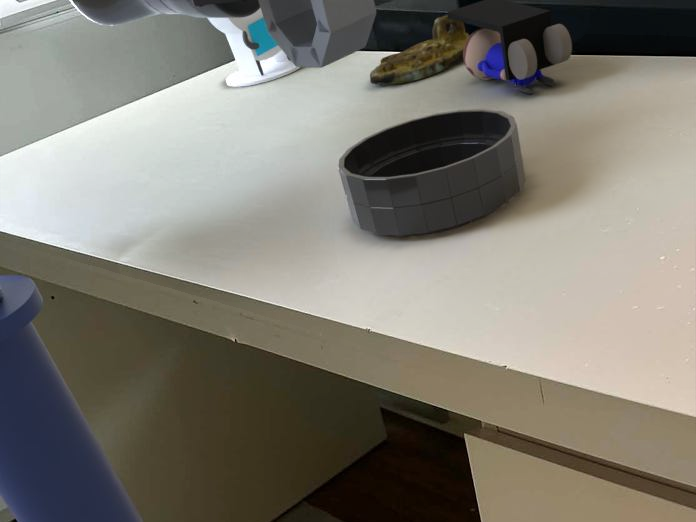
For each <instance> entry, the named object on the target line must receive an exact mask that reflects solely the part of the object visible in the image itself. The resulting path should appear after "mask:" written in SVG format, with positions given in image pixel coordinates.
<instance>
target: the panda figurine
mask: <svg viewBox="0 0 696 522" xmlns="http://www.w3.org/2000/svg"><path fill="white" fill-rule="evenodd" d="M207 20H208V21H209V22H210V24H211V25H212V26H213V27H214V28H215V29H217V30H218V31H220V32H221V33H223V34H224V35H225V37H226V39H227V42H228V44H229V47H230V50H231V52H232V54H233V55H232V56H233V57H234V60H235V62H236V64H237V67H238V70H236V71H234V72H232V73H231V74H229V75H228V76H227V77H226V78H225V82H226V85H227V86H229V87H234V88H235V87H236V88H237V87H240V88H241V87H248V86H249V87H250V86H254V85H258V84H262V83H267V82H270V81H274V80H277V79H280V78H283V77H285V76H287V75H289V74H292V73H294V72H296V71H297V70H299V69H300V68H302V67H296V66H295V65H294V64H293V63H292V61H291V60H290V59H289V58H288V56H287V55H286V54H285V53H284V52H283V50H282V49H281V48H280V47H279V45H278V44H277V43H276V42H275V40H274V39H273V38H272V37H271V35H270V34H269V33H268V30H267V27H266V24H265V21H264V17H263V14H262V11H261V8H260V9H259V10H258V11H256V12H255V13H254V14H252V15H250V16H247V17H242V18H207Z"/></svg>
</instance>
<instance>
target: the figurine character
mask: <svg viewBox="0 0 696 522" xmlns="http://www.w3.org/2000/svg"><path fill="white" fill-rule="evenodd" d="M446 15H448V18H449V19H452V20H456V21H460V22H463V24H467V25H471V26H475V27H479V29H476V30H475V31H473V32H472V33H471V34H469V37H468V39H467V40H466V43H465V45H464V49H463V59H462V60H463V63H464V66H465V68H466V70H467V72H469V74H470V75H472V76H473V77H474V78H476V79H478V80H483V81H490V80H494V79H497V80H501V81H507V82H509V83H512V84H514V89H515V90H517V91H520V92H522V93H525V94H527V95H530V96H531V95H532V94H534V91H533V89H532V88H528V87H527V86H530V85H531V84H532V83H534V81H537V82H539V83H541V84H543V85H546V86H549V87H552V86H554V85H556V84H555V79H554V78H552V77H549V76H546V75H544V74H543V73H542V70H545V69H546V68H549V67H553V66H555V65H558V64H562V63H565V62H567V61H569V60H570V59H571V55H572V51H573V43H572V38H571V35H570V32H569V30H568V29H567V27H566V26H565V25H564V24H562V23H557V24H554V25H553V23H552V11H551V10H549V9H544V8H540V7H535V6H531V5H527V4H524V3H520V2H519V3H518V2H514V1H511V0H481V1H478V2H474V3H471V4H467V5H465V6H462V7H457V8H456V9H452V10H448V11H447V12H446Z"/></svg>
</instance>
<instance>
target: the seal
mask: <svg viewBox="0 0 696 522" xmlns="http://www.w3.org/2000/svg"><path fill="white" fill-rule="evenodd" d="M448 24H449V25H450V26H449V28H448V31H447V25H448ZM469 36H470V34H469V33H468V32H466V27H465V23H463V22H460V21H456V20H452V19H449V18H448V15H447V14H445V15H443V16H438V17H437V18H436V19H435V20H434V23H433V26H432V39H427V40H424V41H422V42H419V43H417V44H415V45H412V46H410V47H408V48H407V49H404V50H401V51H400V52H398V53H393V54H390V55H386V56H383V57H382V58H381V59H380V60H379V62H380V63H379V65H377V66H376V67H375V68H374V69H373V70H371V71H370V74H369V80H370V83H371V84H372V85H378V84H389V83H391V84H394V85H397V84H404V83H405V84H406V83H410V82H415V81H418V80H421V79H424V78H425V79H426V78H428V77H430V76H433V75H435V74H438V73H440V72H442V71H444V70H446V69H448V67H451V66H453V65H454V64H457V63H459V62H461V61H463V60H464V59H463V49H464V45H465V43H466V40H467V39H468V37H469Z"/></svg>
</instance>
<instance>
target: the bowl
mask: <svg viewBox="0 0 696 522" xmlns="http://www.w3.org/2000/svg"><path fill="white" fill-rule="evenodd" d="M515 119H516V118H515V117H514V116H513V115H511V114H509V113H506V112H505V111H502V110H494V109H487V108H477V109H458V110H457V109H456V110H452V111H445V112H444V111H443V112H438V113H432V114H429V115H424V116H420V117H417V118H412V119H408V120H406V121H403V122H400V123H396V124H394V125H391V126H388V127H386V128H384V129H381V130H379V131H377V132H374V133H372V134H370V135H368V136H366V137H364V138H362V139H360V140H359V141H358V142H357V143H355V144H353V145H352V146H350V147H349V148H348V149H346V151H345V152H344V153H342V155H341V157H339V159H338V167H337V170H338V173H339V178H340V180H341V184H342V187H343V190H344V195H345V198H346V201H347V205H348V209H349V212H350V215H351V219H352V221H353V223H354V224H355V225H356V226H357V227H358V228H359V229H360V230H362V231H365V232H368V233H372V234H375V235H378V236H381V235H382V236H388V237H399V238H400V237H401V238H402V237H403V238H405V237H406V238H408V237H421V236H428V235H434V234H440V233H444V232H448V231H451V230H456V229H459V228H461V227H464V226H467V225H469V224H473V223H475V222H478V221H480V220H481V219H484V218H486V217H488V216H490V215H491V214H493V213H495V212H496V211H498V210H499V209H501V208H502V207H503V206H505V205H506V204H508V203H509V202H510V201H512V199H514V198H515V197H516V196H517V195H518V194H520V193H521V191H522V189H523V188H524V185H525V183H526V175H525V169H524V162H523V155H522V148H521V142H520V136H519V129H518V125H517V122H516V120H515Z"/></svg>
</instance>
